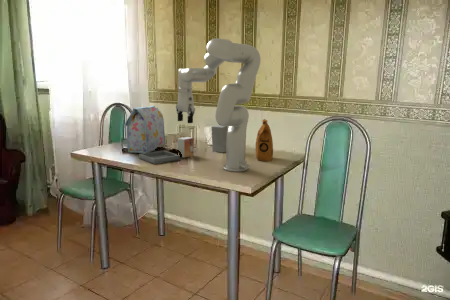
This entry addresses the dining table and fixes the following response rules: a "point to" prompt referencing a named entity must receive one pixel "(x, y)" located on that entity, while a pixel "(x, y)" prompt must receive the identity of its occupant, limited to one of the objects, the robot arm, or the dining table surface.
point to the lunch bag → (145, 130)
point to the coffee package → (264, 143)
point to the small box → (186, 146)
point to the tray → (159, 157)
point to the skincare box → (219, 138)
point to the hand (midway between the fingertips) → (185, 122)
